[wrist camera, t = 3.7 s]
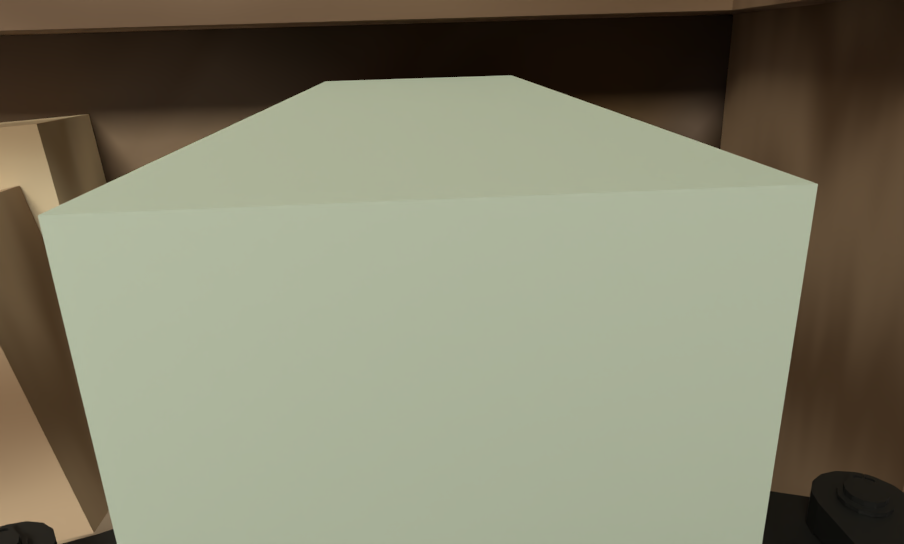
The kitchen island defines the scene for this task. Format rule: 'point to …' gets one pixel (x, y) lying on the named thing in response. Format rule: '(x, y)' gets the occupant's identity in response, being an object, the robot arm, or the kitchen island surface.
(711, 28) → the kitchen island surface
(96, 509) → the offcut short
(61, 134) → the block
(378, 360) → the tall block
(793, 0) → the rack
